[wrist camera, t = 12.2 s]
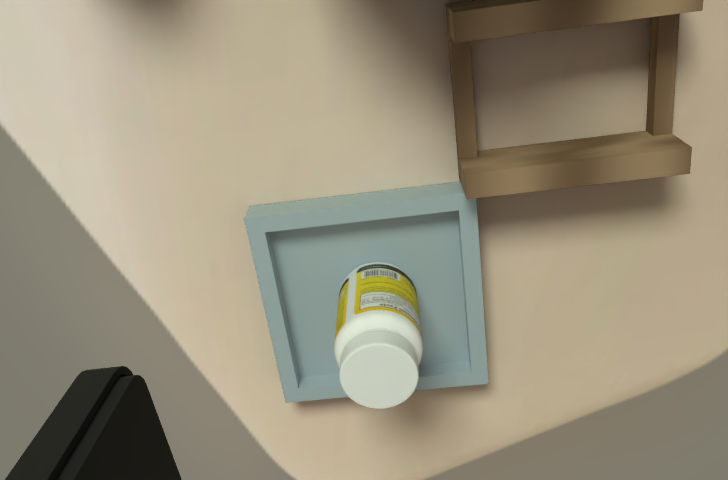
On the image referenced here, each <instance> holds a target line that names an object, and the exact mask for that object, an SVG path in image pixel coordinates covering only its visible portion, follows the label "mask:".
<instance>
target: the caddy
mask: <svg viewBox="0 0 728 480" xmlns="http://www.w3.org/2000/svg"><path fill="white" fill-rule="evenodd" d="M702 10H703V0H478V1H470V2H463V3H456V4H448V5H446V11H447V24H448V37H449V50H450V64H451V77H452V90H453V103H454V116H455V129H456V142H457V155H458V169H459V178H460V181H461V184H462V187H463V190H464V193H465V196H466V199H473V198H482V197H491V196H500V195H508V194H517V193H526V192H534V191H543V190H552V189H561V188H569V187H578V186H587V185H595V184H604V183H613V182H622V181H630V180H639V179H648V178H656V177H665V176H674V175H683V174H690V166H691V153H692V147H691V146H689V145H688V144H686V143H685V142H683V141H682V140H680V139H679V138H677V137H676V136H675V135H673V134H672V126H673V110H674V94H675V78H676V63H677V47H678V31H679V15H680V13H687V12H694V11H702ZM649 17H651V38H650V59H649V80H648V102H647V123H646V131H642V132H633V133H625V134H617V135H608V136H600V137H592V138H583V139H575V140H566V141H558V142H550V143H541V144H533V145H525V146H516V147H508V148H500V149H491V150H483V151H477V140H476V124H475V108H474V92H473V76H472V61H471V45H470V41H475V40H482V39H490V38H497V37H505V36H513V35H520V34H528V33H535V32H543V31H550V30H558V29H566V28H573V27H581V26H588V25H596V24H603V23H611V22H619V21H626V20H634V19H641V18H649Z"/></svg>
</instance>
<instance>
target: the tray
mask: <svg viewBox="0 0 728 480" xmlns="http://www.w3.org/2000/svg"><path fill="white" fill-rule="evenodd" d="M244 220H245V225H246V229H247V233H248V238H249V242H250V247H251V251H252V256H253V260H254V264H255V269H256V273H257V278H258V282H259V287H260V291H261V296H262V300H263V304H264V309H265V313H266V318H267V322H268V327H269V331H270V335H271V340H272V344H273V349H274V353H275V358H276V362H277V367H278V371H279V375H280V380H281V384H282V389H283V393H284V398H285V402H286V403H289V402H300V401H310V400H321V399H332V398H342V397H348V395H347V394H346V393H345V392H344V390H343V388H342V386H341V383H340V378H339V370H340V368H339V366H338V364H337V361H336V358H335V354H334V342H335V332H336V322H337V311H338V300H339V291H340V288H341V285H342V283H343V281H344V280H345V278H346V277H347V276H348V275H349V274H350V273H351V272H352V271H353V270H354V269H356V268H357V267H359V266H361V265H364V264H367V263H372V262H385V263H389V264H392V265H395V266H397V267H399V268H400V269H402V270H403V271H404V272H406V273H407V274H408V275H409V277H410V278H411V279H412V281H413V283H414V285H415V288H416V293H417V300H418V308H419V316H420V325H421V333H422V341H423V353H422V358H421V361H420V364H419V368H418V371H419V378H418V383H417V386H416V389H415V390H414V391H416V390H427V389H438V388H448V387H459V386H470V385H480V384H489V383H488V368H487V353H486V337H485V322H484V307H483V292H482V277H481V261H480V246H479V231H478V216H477V200H476V198H473V199H466V196H465V193H464V190H463V187H462V184H461V182H454V183H445V184H437V185H428V186H420V187H411V188H403V189H394V190H386V191H377V192H368V193H360V194H351V195H343V196H334V197H326V198H317V199H308V200H300V201H291V202H283V203H274V204H266V205H257V206H250V207H249V209H248V211H247V213H246V215H245V218H244Z"/></svg>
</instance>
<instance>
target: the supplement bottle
mask: <svg viewBox="0 0 728 480" xmlns="http://www.w3.org/2000/svg"><path fill="white" fill-rule="evenodd" d="M422 353H423V341H422V333H421V325H420V316H419V308H418V300H417V293H416V288H415V285H414V283H413V281H412V279H411V278H410V277H409V275H408V274H407V273H406V272H404V271H403V270H402V269H400V268H399V267H397V266H395V265H392V264H389V263H385V262H372V263H367V264H364V265H361V266H359V267H357V268H356V269H354V270H353V271H352V272H351V273H350V274H349V275H348V276H347V277H346V278H345V280H344V281H343V283H342V285H341V288H340V291H339V300H338V311H337V322H336V332H335V342H334V354H335V358H336V361H337V364H338V366H339V368H340V370H339V378H340V383H341V386H342V388H343V390H344V392H345V393H346V394H347V395H348V397H349V398H351V399H352V400H353V401H355V402H356V403H358V404H360V405H362V406H365V407H368V408H375V409H384V408H390V407H393V406H396V405H398V404H400V403H402V402H404V401H405V400H407V399H408V398H409V397H410V396H411V395H412V393H413V392H414V390H415V389H416V386H417V383H418V378H419V371H418V368H419V364H420V361H421V358H422Z"/></svg>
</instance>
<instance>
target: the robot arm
mask: <svg viewBox="0 0 728 480" xmlns="http://www.w3.org/2000/svg"><path fill="white" fill-rule="evenodd" d="M5 480H181V477H180V474H179V472H178V469H177V466H176V463H175V461H174V458H173V455H172V452H171V450H170V447H169V445H168V442H167V439H166V436H165V433H164V431H163V428H162V425H161V423H160V420H159V417H158V414H157V412H156V409H155V406H154V404H153V401H152V398H151V395H150V393H149V390H148V388H147V385H146V383H145V380H144V379H143V378H142V377H141V376H139V375H134V376H133V374H132V372H131V371H130V370H129V369H128V368H127V367H124V366H120V367H110V368H101V369H92V370H86V371H83V372H81V373H80V374H79V375H78V376H77V378H76V379H75V380H74V382H73V383H72V385H71V386H70V388H69V389H68V390H67V392H66V393H65V395H64V396H63V397H62V399H61V400H60V402H59V403H58V405H57V406H56V407H55V409H54V410H53V412H52V413H51V415H50V416H49V418H48V419H47V420H46V422H45V423H44V425H43V426H42V428H41V429H40V431H39V432H38V433H37V435H36V436H35V438H34V439H33V440H32V442H31V443H30V445H29V446H28V447H27V449H26V450H25V452H24V453H23V455H22V456H21V457H20V459H19V460H18V462H17V463H16V465H15V466H14V468H13V469H12V470H11V472H10V473H9V475H8V476H7V478H6V479H5Z"/></svg>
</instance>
